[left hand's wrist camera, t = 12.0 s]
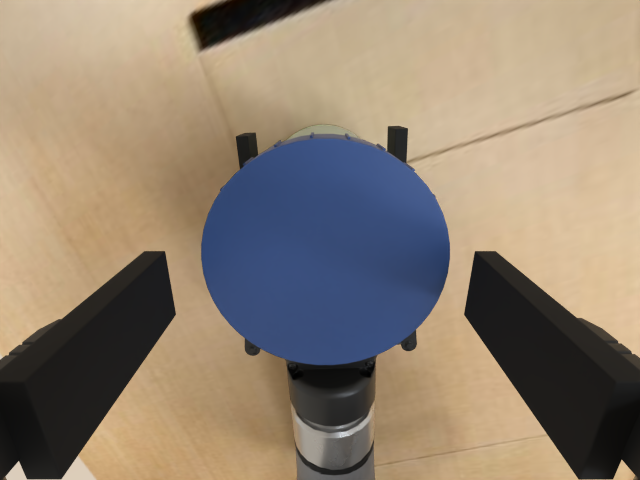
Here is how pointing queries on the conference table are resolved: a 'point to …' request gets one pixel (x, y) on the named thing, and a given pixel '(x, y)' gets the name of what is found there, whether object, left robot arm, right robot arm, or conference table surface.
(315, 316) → the lid
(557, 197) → the conference table surface
